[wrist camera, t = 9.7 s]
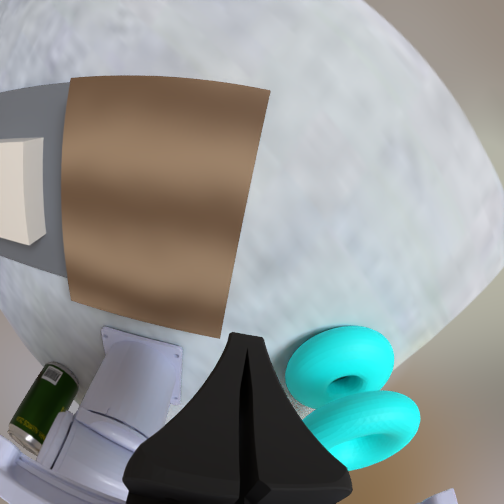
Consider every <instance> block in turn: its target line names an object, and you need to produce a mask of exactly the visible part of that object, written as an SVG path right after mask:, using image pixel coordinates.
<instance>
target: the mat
mask: <svg viewBox="0 0 504 504" xmlns="http://www.w3.org/2000/svg"><path fill="white" fill-rule="evenodd" d="M69 86H70V82H68V83H58V84H49V85H41V86H34V87H28V88H22V89H16V90H11V91H6V92H1V93H0V139H12V138H40V137H44V139H43V201H44V216H45V228H46V234H45V235H43V236H42V237H41V238H39V239H38V240H36V241H35V242H33V243H32V244H31V245H26V244H22V243H18V242H15V241H11V240H8V239H4V238H1V237H0V255H1V256H4V257H6V258H9V259H12V260H15V261H18V262H20V263H23V264H26V265H29V266H32V267H35V268H38V269H41V270H44V271H47V272H50V273H53V274H57V275H60V276H63V277H66V278H68V277H67V270H66V262H65V253H64V242H63V229H62V210H61V163H62V144H63V132H64V122H65V113H66V105H67V98H68V92H69Z"/></svg>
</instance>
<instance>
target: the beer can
mask: <svg viewBox="0 0 504 504" xmlns="http://www.w3.org/2000/svg"><path fill="white" fill-rule="evenodd" d="M78 387H79V383H78V380H77V378H76V377H75V375H74V374H73V373H72V372H71V371H70V370H69V369H67V368H66V367H65V366H63V365H61V364H59V363H57V362H50V363H48V364H46V365H45V366H44V368H43V369H42V371H41V372H40V374H39V375H38V377H37V378H36V380H35V382H34V383H33V385H32V386H31V388H30V390H29V391H28V393H27V395H26V396H25V398H24V399H23V401H22V403H21V404H20V406H19V408H18V410H17V411H16V413H15V415H14V416H13V418H12V420H11V422H10V423H9V430H8V434H9V435H10V436H11V437H12V438H13V439H14V440H15V441H16V442H17V443H18V444H20V445H21V446H22V447H24V448H25V449H26V450H28V451H29V452H31V453H33V454H34V455H36V456H38V454H39V451H40V449H41V447H42V445H43V443H44V441H45V438H46V436H47V434H48V432H49V430H50V428H51V426H52V424H53V422H54V421H55V419H56V417H57V415H58V413H60V412H66V411H68V409H69V407H70V405H71V403H72V401H73V400H74V398H75V396H76V394H77V392H78Z"/></svg>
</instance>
